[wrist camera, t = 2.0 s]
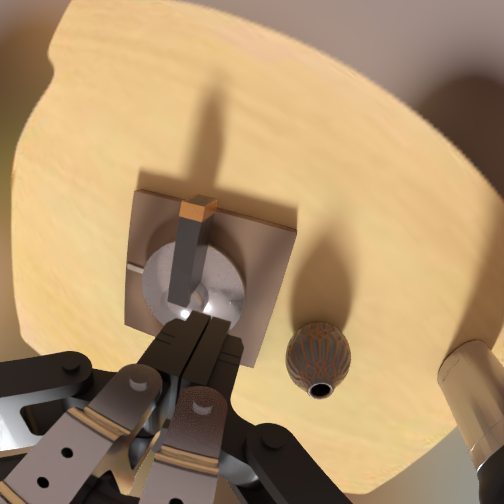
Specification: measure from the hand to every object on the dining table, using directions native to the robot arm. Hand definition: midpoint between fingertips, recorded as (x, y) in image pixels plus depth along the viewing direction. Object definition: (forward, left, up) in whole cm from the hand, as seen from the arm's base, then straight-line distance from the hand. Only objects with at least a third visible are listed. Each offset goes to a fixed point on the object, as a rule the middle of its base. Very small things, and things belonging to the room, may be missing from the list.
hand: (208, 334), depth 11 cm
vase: (-10, +11, -19) cm, 24 cm away
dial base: (+5, +8, -19) cm, 21 cm away
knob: (+5, +6, -17) cm, 19 cm away
